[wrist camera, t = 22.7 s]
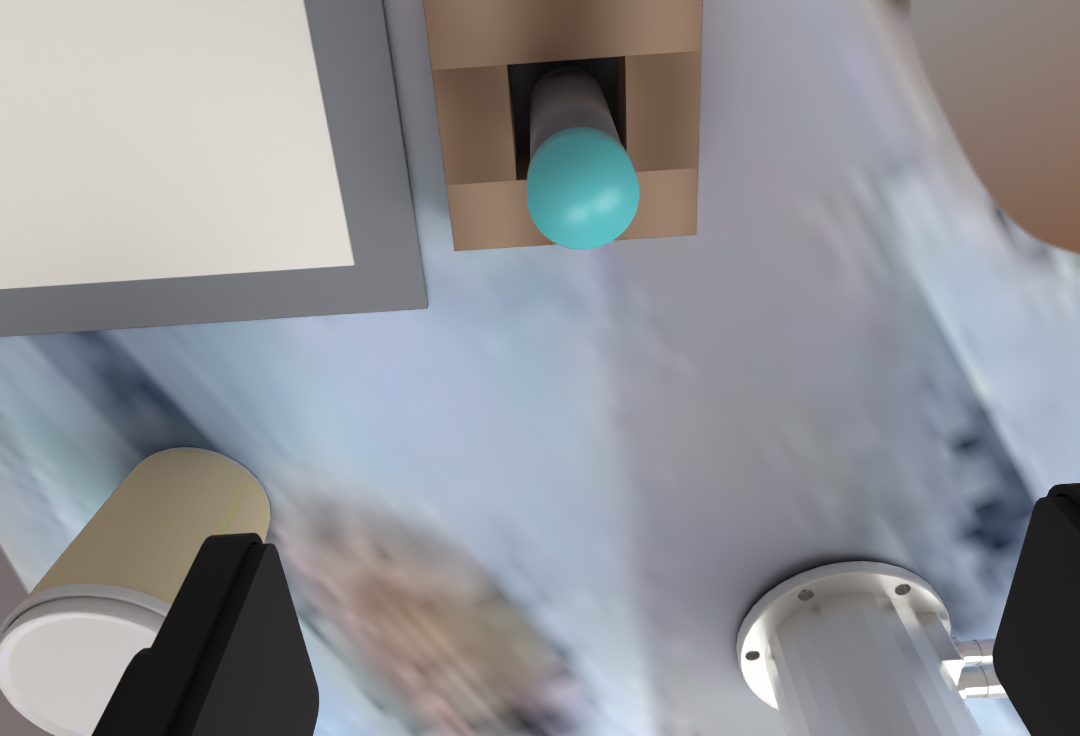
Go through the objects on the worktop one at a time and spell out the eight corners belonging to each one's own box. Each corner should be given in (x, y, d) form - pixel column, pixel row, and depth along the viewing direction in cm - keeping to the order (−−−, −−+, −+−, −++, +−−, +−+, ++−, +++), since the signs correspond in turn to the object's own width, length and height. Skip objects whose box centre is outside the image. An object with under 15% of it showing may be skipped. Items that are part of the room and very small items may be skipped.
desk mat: (362, -137, 31) (361, -137, 30) (428, 304, 40) (427, 308, 39) (-273, -87, 31) (-282, -87, 31) (-67, 337, 40) (-72, 341, 40)
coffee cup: (148, 576, 48) (44, 766, 38) (82, 443, 43) (-58, 619, 33) (307, 558, 48) (244, 745, 37) (257, 422, 43) (170, 593, 33)
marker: (602, 54, 34) (639, 135, 23) (604, 132, 36) (640, 245, 24) (524, 60, 34) (522, 144, 23) (530, 138, 36) (531, 253, 25)
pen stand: (687, -41, 32) (703, -34, 29) (682, 206, 37) (696, 234, 34) (431, -22, 33) (421, -13, 30) (460, 221, 38) (454, 251, 35)
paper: (293, -54, 32) (292, -54, 32) (354, 263, 38) (354, 265, 38) (-170, -19, 32) (-174, -18, 32) (-32, 289, 39) (-35, 291, 38)
